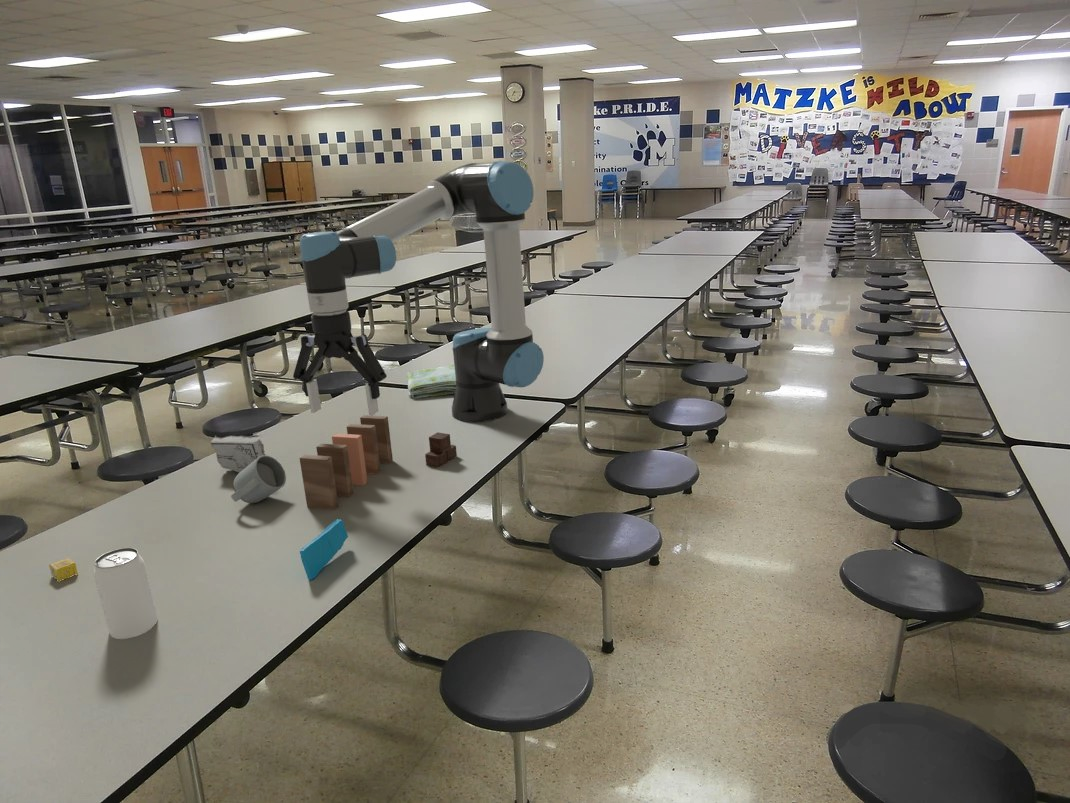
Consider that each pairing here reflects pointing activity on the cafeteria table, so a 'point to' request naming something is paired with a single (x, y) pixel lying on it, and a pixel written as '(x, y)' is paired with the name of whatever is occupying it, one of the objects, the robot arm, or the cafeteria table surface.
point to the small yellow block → (63, 569)
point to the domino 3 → (353, 456)
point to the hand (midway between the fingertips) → (344, 412)
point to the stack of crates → (440, 450)
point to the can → (125, 593)
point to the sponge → (323, 548)
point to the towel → (432, 382)
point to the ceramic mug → (259, 480)
